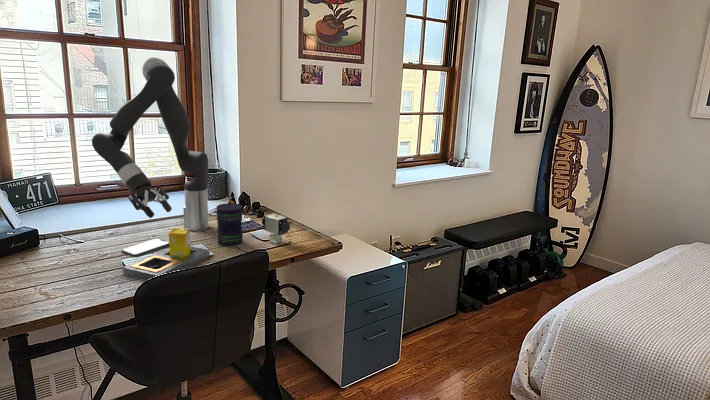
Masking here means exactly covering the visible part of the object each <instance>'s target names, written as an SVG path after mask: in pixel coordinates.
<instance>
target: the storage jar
mask: <svg viewBox="0 0 710 400" xmlns="http://www.w3.org/2000/svg"><path fill="white" fill-rule="evenodd" d="M242 220H243V206H242V204H239V203H233V202H231V203H228V202H227V203H226V202H225V203H221V204H217V205H216V221H217V231H216V232H217V233H216V236H217V245H219V246H221V247H226V248H227V247H229V248H230V247H232V248H233V247H237V246H240V245H242V244H243V237H244V235H243V226H242V225H243V224H242Z"/></svg>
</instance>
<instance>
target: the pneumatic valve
mask: <svg viewBox="0 0 710 400" xmlns="http://www.w3.org/2000/svg"><path fill="white" fill-rule="evenodd" d="M261 224H262V226H263V231H265V232H270V234H269V243H272V244H275V245H277V244H279V243H280V244H281V243H283V236H282V235H284V234H287V233H289V231H290V229H291V224H290V222H289V217H286V216H284V215H281V214H280V215H279V214H278V213H273V212H272V213H268V214H265V215H263V218H262V220H261Z"/></svg>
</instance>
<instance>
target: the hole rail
mask: <svg viewBox="0 0 710 400" xmlns="http://www.w3.org/2000/svg"><path fill="white" fill-rule="evenodd" d="M190 249H191V254H190V255H188V256H186V257H184V258H178V257H173V256H170V248H169V247H166V248H163V249H161V250H159V251H156V253H153V254H150V255H148V256H146V257H144V258H142V259H140V260H136V261H135V262H132V263H130V264H128V265H126V266H123V267H122V273H123V275H124V276H127V277H132V278H135V279H140V280H145V281H148V279H150V278H153V277H155V276H158V275H161V274H164V273H169V272H173V271H177V270H182V269H184V270H186V269H188V268H190V267H192V266H193V265H196V264H198V263H199V262H201V261H203V260H205V259H208V258H209V257H210V249H205V248H202V247H196V246H192V245H190ZM154 266H159V267H160V268H157V269H155V268H152V267H154ZM182 271H183V270H182Z"/></svg>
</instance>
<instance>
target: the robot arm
mask: <svg viewBox="0 0 710 400" xmlns="http://www.w3.org/2000/svg"><path fill="white" fill-rule="evenodd" d="M141 68H142V69H141V72H142V75H143V77H144V79H145V81H146V82H145V84H144V86H143V88H141V90H140V92H139V93H137V95H135V96H134V97H133V98H131V99H130V100H128V101H126V102H125V103H124V104H123V105H122V106H121V107H119V109H118V111H116V113H115V114H114V116H113V117H112V118H111V120H110V122H109V126H110V128H111V131H110V132H109V133H106V132H105V133H104V132H97V133H96V134H95V135H93V136H92V139H91V145H92V148H93V150H94V151H95V152H96V153H97V154H98V155H99V156H100V157H101V158H102V159H103V160H105V162H107V164H110V166H111V167H112V168H113V170H114V171H115V173H116V174H117V175H118V177H119V178H120V180H121V181H122V183H123V184H124V185H125V187H126V188H127V189H128V190H129V192H130V194H129V195H128V197H127V198H128V200H129V202H130V203H131V204H132V206H133V207H134V209H135V210H136V211H140V210H141V211H142V212H144V214H145V216H146V217H148V218H149V219H152V218H153V217H154V216H155V212H154V211H153V210H152V208H150V206H148V204H149V202H151V203H152V202H155V203H159V204H160V205H161V206H162V208H163V209H164V211H165V212H166V213H170V212H171V211H172V206H171V205H170V204H169V202H168V200H169V199H170V196H169V195H168V194H167V193H166V191H165V190H164V189H163V188H162V186H160V185H157V187H153V185H152V182H151V180H150V179H149V177H147V175H146V174H145V173H144V171H143V170H142V169H141V167H140V166H139V165H138V164H137V163H136V162H135V160H134V159H133V158H132V157H131V156H130V155H129V153H127V152H126V151H123V150H122V149H123V147H124V145H125V144H126V141H127V138H128V135H129V133H130V132H131V130H132V129H133V128H134V126H135V125H136V124H137V122H138V121H139V120H140V118H141V117H143V115H144V113H146V112H147V110H148V109H149V108H150V107H151V106H152V105H153V104H154V103H155V102H156V104H157V108H158V111H159V114H160V117H161V120H162V122H163V125H164V127H165V129H166V131H167V133H168V137H169V139H170V141H171V143H172V144H171V145H172V147H173V149H174V152H175V157H176V160H177V164H178V166H179V168H180V170H181V172H183V173H186V174H195V177H194V178H193V179H190V180H187V181H185V182H184V189H183V190H184V206H183V226H184V227H183V228H189V229H190V231H195V232H196V231H197V232H198V231H203V230H207V229H208V228H209V199H208V198H209V197H208V182H209V156H208V155H207V153H206V152H205V151H194V150H190V149H189V148H188V145H187V140H188V138H189V136H190V135H189V134H190V132H191V128H192V127H191V122H190V119H189V116H188V113H187V111H186V110H185V107H184V106H183V104H182V101H181V100H180V98H179V97H178V94H177V93H176V91H175V89H174V87H173V84H174V83H175V78H176V76H175V73H174V71H173V69H172V68H171V67H170V65H168V64H167V62H165V61H164V60H163V59H161V58H159V57H154V56H153V57H149V58H147V59H146V60H145V61H144V62H143V65H142V67H141Z"/></svg>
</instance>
